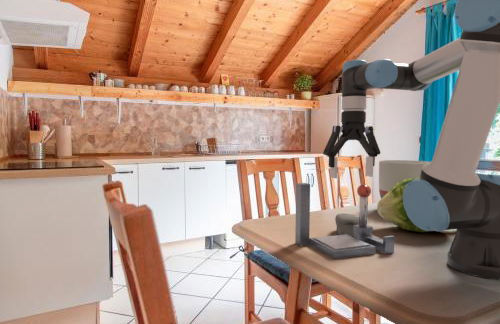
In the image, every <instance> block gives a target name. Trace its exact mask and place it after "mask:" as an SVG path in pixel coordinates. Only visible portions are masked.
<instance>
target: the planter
mask: <svg viewBox="0 0 500 324" xmlns="http://www.w3.org/2000/svg"><path fill="white" fill-rule="evenodd" d="M429 162H430V161H425V160H411V159H410V160H407V159H386V160H385V159H382V160H379V161H378V192H379V195H380V200H381V199H382V197H383V196H385V195H386V194H387V193H388V192H389V191H390V189H391V188H392V187H393V186H394V185H395V184H397V183H398V182H400V181H402V180H405V179H410V178H419V177H420V174H421V171H422V167H423V165H425V164H427V163H429Z"/></svg>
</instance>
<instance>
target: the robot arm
mask: <svg viewBox="0 0 500 324" xmlns="http://www.w3.org/2000/svg"><path fill="white" fill-rule="evenodd" d="M454 18H455V19H456V21H455V22H456V24H457V26H459V28H460V29H461V30H462V31H461V35H460V37H458V38H456V39H455V40H453V41H451V42H449V43H447V44H445V45H443V46H441V47H439V48H438V49H435V50H433V51H431V52H430V53H427V54H426V55H424V56H422V57H421V58H418V59H416V60H414V61H411V62H410V63H395V62H394V61H393V60H391V59H389V58H383V59H376V60H374V61H372V62H371V61H370V62H368V61H366V60H364V59H351V60H347V61H345V62H344V63H343V65H342V73H341V110H342V111H341V115H340V120H341V121H340V122H341V126H340V125H333V126H332V131H331V134H330V137H329V139H328V141H327V143H326V145H325V147H324V150H323V152H322V154H323V155H324V156H326V157H328V167H329V168H330V171H329V173H330V178H332V179H338V160H339V158H338V157H337V155H338V153H339V152H340V151H341V149H342V148H343V147H344V145H345V144H346V142H348V141H357V142H359V144H360V146H362V148H363V150H364V151H365V152H366V154H367V156H366V157H365V177H370V178H372V177H374V175H373V174H374V167H375V162H376V161H375V160H376V157H378V155H381V149H380V147H379V144H378V141H377V139H376V137H375V134H374V127H373V126H372V125H369V126H368V125H366V126H365V123H366V121H367V120H366V119H367V112H366V111H365V110H366V109H367V91H368V90H372V89H374V90H375V89H379V90H381V89H382V90H397V91H398V90H401V91H410V92H418V91H425V90H428V88H429V87H430V86H431V85H432V83H433V82H434V81H437V80H440V79H442V78H444V77H447V76H448V75H451V74H454V73H456V72H458V73H457V77H456V80H455V84H454V87H453V90H452V92H451V93H452V94H451V97H450V100H449V104H448V107H447V110H446V113H445V117H444V120H443V124H442V126H441V130H440V132H439V137H438V140H437V143H436V147H435V149H434V153H433V156H432V160H431V161H428V162H429V163H427V164H425V165H423V167H422V171H421V174H420V177H419V179H414V180H413V181H411V182H409V183H408V184H407V185H406V187H405V189H404V192H403V205H404V208H405V210H406V213H407V215H408V217H409V219H410V220H411V221H412V222H413V224H415V225H416V226H417V227H419V228H420V229H423V230H426V231H428V232H434V231H435V232H444V231H449V230H456V233H455V235H454V237H453V240H452V243H451V245H450V247H449V250H448V251H447V254H446V255H447V258H446V263H447V265H448V266H449V267H451V268H452V269H454V270H457V271H459V272H461V273H464V274H468V275H472V276H476V277H479V278H484V279H485V278H486V279H493V280H500V175H499V174H492V173H485V172H477V169H478V166H479V162H480V160H481V157H482V154H483V151H484V148H485V145H486V142H487V140H488V137H489V134H490V131H491V128H492V125H493V123H494V120H495V117H496V114H497V112H498V109H499V106H500V0H457V1H456V4H455V8H454ZM340 133H342V134H341V135H340ZM364 133H365V134H364Z"/></svg>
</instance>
